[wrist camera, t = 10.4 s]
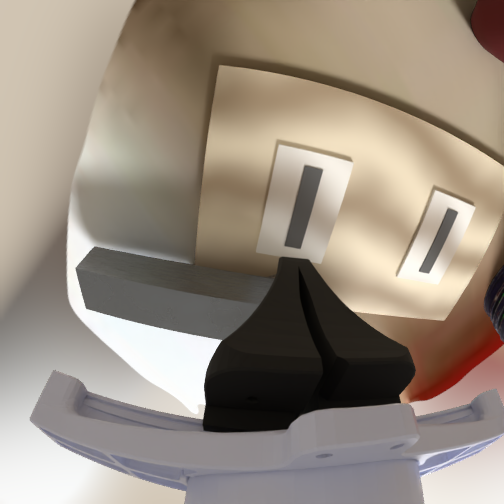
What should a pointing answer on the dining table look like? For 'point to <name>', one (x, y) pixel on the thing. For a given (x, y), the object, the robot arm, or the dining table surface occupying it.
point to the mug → (489, 26)
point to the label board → (343, 194)
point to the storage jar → (496, 302)
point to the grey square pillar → (169, 292)
